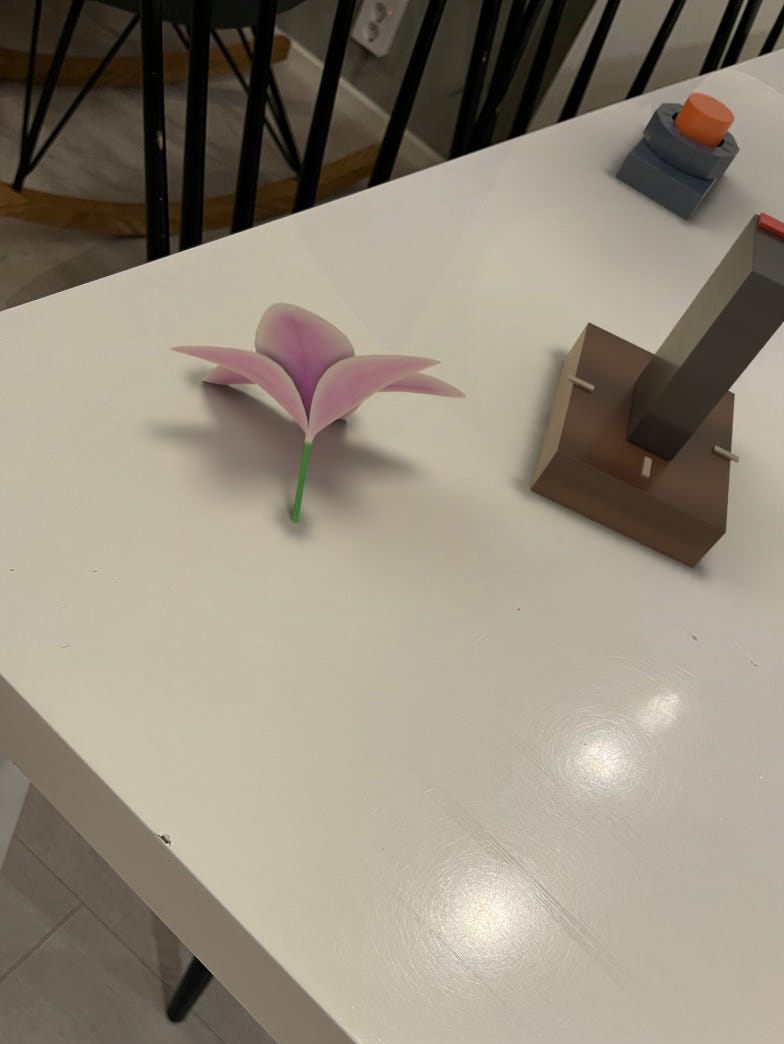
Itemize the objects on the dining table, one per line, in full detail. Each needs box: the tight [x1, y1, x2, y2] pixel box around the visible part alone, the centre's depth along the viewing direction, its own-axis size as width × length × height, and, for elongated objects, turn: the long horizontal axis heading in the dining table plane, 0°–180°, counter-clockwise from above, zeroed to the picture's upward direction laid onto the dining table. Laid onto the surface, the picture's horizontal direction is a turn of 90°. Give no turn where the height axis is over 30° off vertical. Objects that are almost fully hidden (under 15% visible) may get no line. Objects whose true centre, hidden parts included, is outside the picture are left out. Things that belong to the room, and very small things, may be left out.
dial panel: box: [530, 321, 740, 569], centre depth 56 cm, size 12×10×3 cm
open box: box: [627, 211, 784, 461], centre depth 51 cm, size 6×2×10 cm, turn 162°
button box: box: [614, 102, 741, 222], centre depth 79 cm, size 10×6×4 cm, turn 150°
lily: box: [169, 302, 467, 524], centre depth 46 cm, size 12×12×10 cm
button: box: [674, 92, 735, 147], centre depth 77 cm, size 4×4×2 cm
